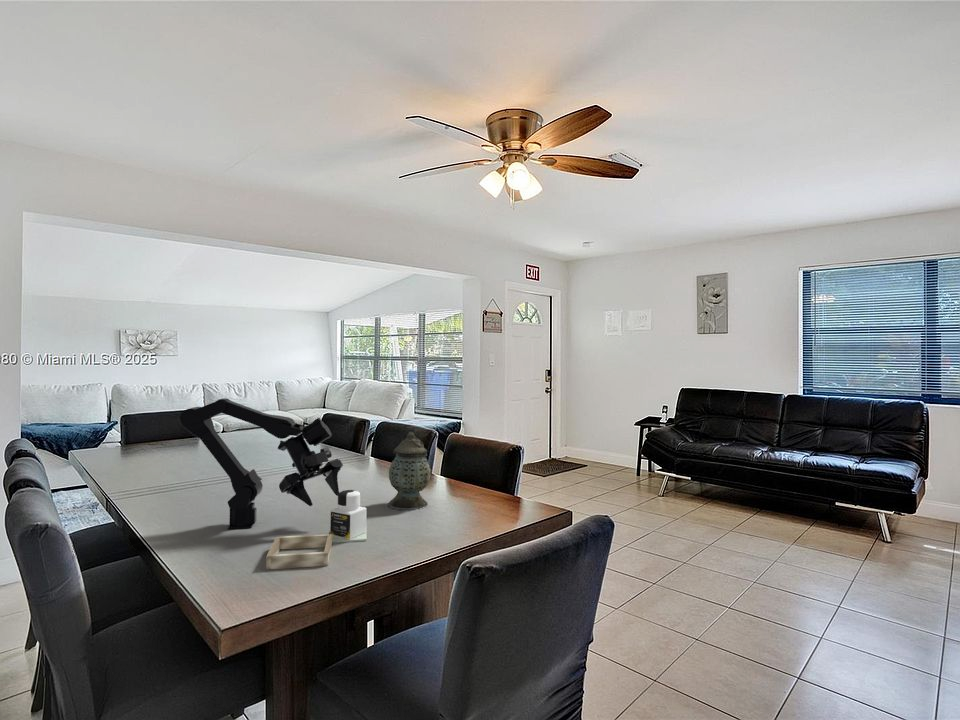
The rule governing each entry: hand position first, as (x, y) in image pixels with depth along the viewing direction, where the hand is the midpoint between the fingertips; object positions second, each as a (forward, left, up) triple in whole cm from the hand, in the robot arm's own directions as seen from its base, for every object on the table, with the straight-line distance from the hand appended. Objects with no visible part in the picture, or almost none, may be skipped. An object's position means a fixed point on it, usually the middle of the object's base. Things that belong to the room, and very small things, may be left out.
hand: (325, 500), depth 153 cm
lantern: (+26, +23, -9) cm, 36 cm away
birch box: (-4, -20, -9) cm, 22 cm away
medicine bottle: (+7, -6, -8) cm, 12 cm away
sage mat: (+7, -6, -9) cm, 12 cm away
